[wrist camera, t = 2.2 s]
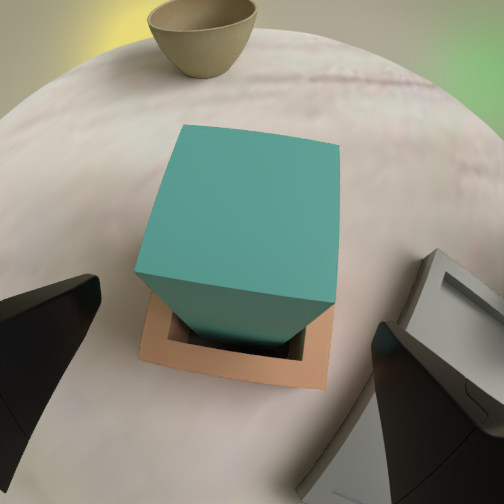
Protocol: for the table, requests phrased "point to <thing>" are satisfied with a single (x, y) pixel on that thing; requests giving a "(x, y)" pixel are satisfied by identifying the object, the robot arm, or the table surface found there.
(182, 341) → the holder
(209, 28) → the flower pot
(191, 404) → the table surface
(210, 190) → the teal block
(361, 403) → the tray
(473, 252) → the table surface
